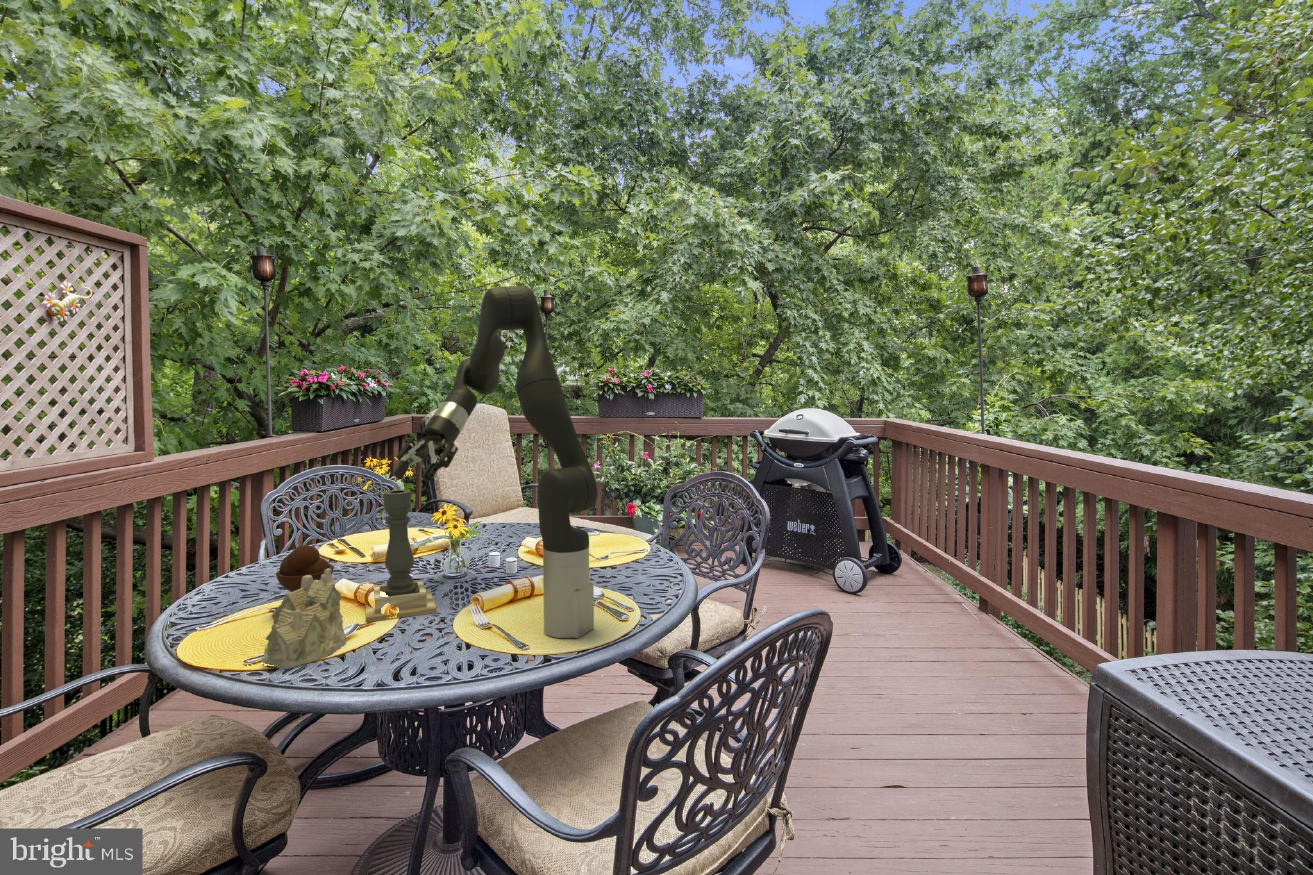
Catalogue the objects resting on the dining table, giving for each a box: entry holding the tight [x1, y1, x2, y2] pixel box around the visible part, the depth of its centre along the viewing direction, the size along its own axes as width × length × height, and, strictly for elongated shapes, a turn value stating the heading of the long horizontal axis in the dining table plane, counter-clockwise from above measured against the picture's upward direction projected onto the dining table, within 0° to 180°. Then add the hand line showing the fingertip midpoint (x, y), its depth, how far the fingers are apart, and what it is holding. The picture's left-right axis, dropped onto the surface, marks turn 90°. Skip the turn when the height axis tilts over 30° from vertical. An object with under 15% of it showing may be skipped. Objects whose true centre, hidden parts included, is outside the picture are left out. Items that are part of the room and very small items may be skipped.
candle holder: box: [382, 489, 415, 596], centre depth 143 cm, size 6×6×25 cm
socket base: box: [365, 579, 437, 623], centre depth 144 cm, size 14×14×4 cm
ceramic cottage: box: [260, 568, 348, 670], centre depth 121 cm, size 16×16×15 cm
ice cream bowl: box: [275, 544, 335, 593], centre depth 140 cm, size 11×11×15 cm
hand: (410, 478), depth 145 cm, fingers open, 8 cm apart
